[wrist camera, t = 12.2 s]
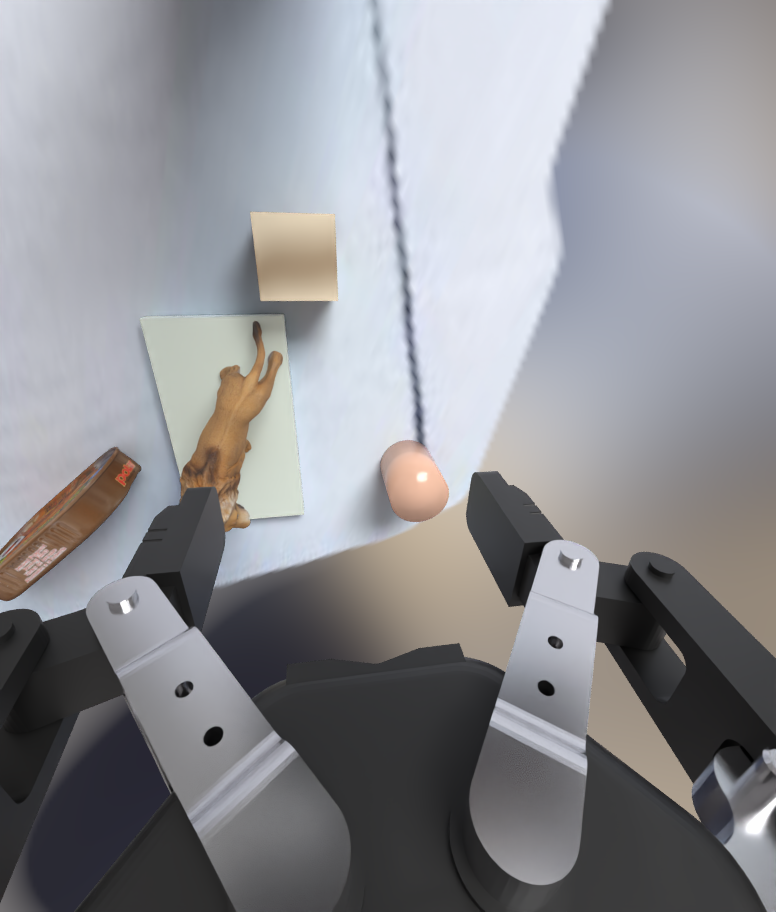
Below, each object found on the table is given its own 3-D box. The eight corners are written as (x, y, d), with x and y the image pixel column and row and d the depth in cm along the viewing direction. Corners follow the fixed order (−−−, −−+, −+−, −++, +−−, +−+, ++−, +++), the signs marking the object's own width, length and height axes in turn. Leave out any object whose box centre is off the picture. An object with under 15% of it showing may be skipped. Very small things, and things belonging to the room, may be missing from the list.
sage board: (145, 316, 31) (139, 318, 30) (284, 313, 32) (283, 316, 31) (195, 516, 39) (192, 524, 38) (304, 507, 40) (303, 514, 39)
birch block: (259, 216, 29) (250, 211, 25) (331, 218, 30) (334, 214, 25) (268, 292, 31) (260, 301, 27) (334, 292, 32) (337, 300, 28)
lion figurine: (257, 490, 37) (242, 557, 29) (194, 479, 36) (161, 547, 28) (291, 329, 31) (283, 358, 24) (217, 308, 30) (182, 332, 22)
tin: (129, 430, 34) (79, 482, 27) (161, 455, 36) (122, 511, 28) (13, 532, 37) (-62, 606, 29) (47, 552, 38) (-16, 627, 31)
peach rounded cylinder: (380, 442, 38) (390, 473, 33) (432, 438, 39) (451, 469, 34) (380, 487, 41) (390, 524, 35) (429, 483, 41) (446, 519, 36)
